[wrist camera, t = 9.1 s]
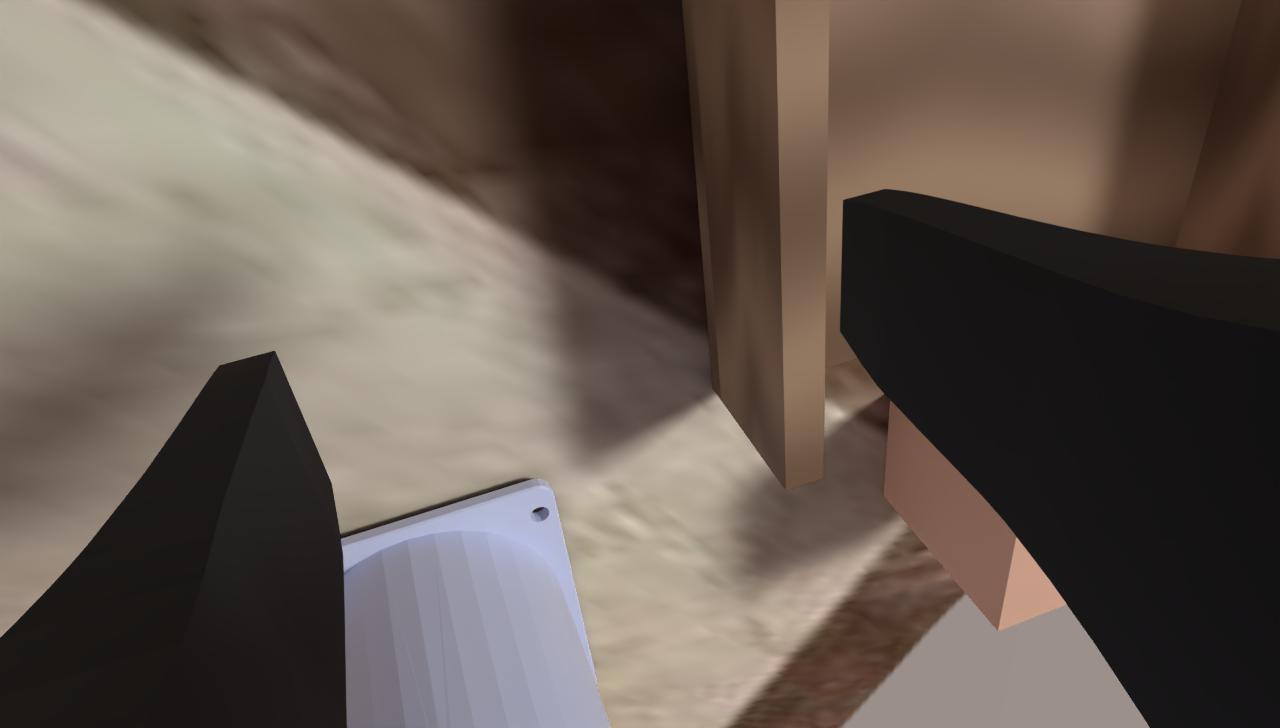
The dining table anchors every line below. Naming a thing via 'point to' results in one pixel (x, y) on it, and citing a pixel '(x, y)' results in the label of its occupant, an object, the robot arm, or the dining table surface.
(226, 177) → the dining table surface
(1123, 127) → the box
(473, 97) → the dining table surface
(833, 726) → the dining table surface
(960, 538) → the block
